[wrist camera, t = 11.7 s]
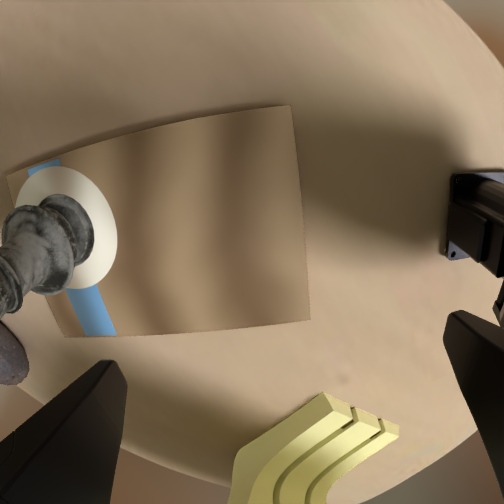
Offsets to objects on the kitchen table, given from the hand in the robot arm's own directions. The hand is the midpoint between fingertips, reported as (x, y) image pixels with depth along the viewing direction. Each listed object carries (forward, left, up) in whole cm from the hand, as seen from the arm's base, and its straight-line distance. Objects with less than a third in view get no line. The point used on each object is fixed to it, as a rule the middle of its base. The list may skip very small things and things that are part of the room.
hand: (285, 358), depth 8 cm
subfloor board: (+8, +1, -13) cm, 15 cm away
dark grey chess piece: (+14, -1, -12) cm, 18 cm away
